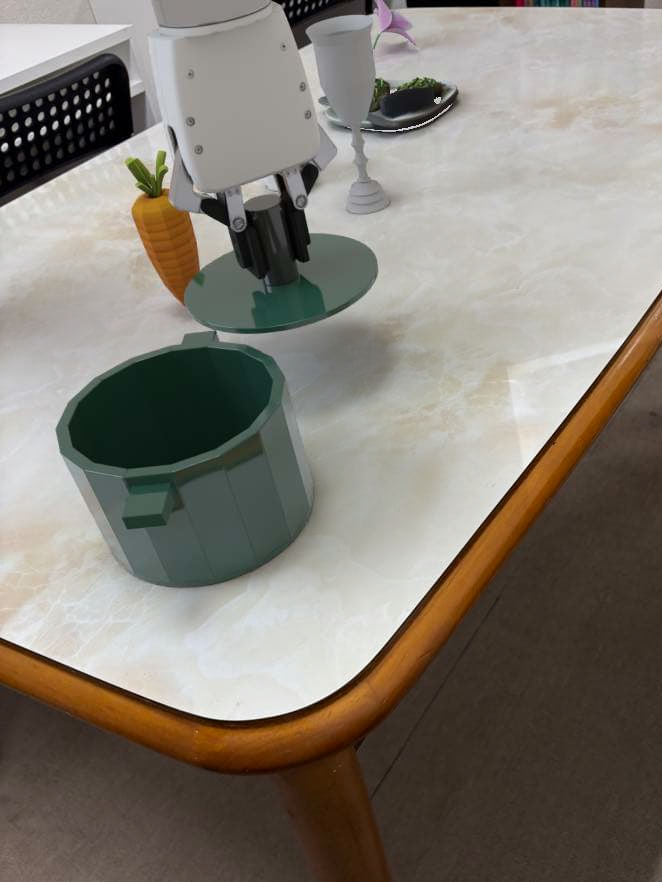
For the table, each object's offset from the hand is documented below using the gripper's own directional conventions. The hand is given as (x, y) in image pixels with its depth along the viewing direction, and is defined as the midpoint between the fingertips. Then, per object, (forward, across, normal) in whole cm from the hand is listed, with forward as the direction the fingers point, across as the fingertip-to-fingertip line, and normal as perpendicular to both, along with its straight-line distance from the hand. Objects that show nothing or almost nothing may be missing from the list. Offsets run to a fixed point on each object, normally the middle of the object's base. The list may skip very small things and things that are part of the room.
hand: (276, 262), depth 67 cm
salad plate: (+10, -38, -51) cm, 64 cm away
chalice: (+10, -21, -26) cm, 35 cm away
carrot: (+10, +4, -17) cm, 20 cm away
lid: (+2, 0, 0) cm, 2 cm away
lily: (+10, -54, -78) cm, 95 cm away
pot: (+10, +13, +13) cm, 21 cm away
